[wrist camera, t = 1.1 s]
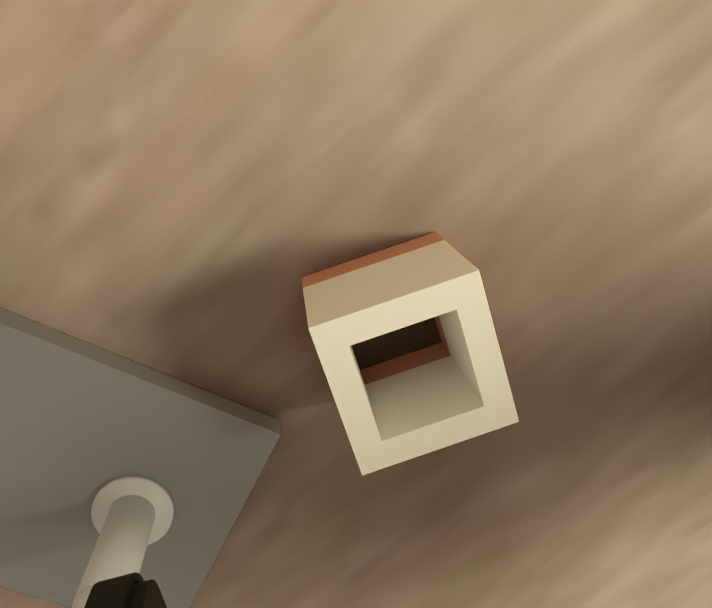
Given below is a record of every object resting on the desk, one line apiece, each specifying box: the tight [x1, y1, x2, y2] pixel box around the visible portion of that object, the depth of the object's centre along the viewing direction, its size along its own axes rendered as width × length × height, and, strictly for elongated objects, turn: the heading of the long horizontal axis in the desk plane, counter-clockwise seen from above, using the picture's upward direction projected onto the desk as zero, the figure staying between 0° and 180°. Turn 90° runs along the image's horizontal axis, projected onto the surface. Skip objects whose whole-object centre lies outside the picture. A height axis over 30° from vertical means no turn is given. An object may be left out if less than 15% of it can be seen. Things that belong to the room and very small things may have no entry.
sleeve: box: [301, 232, 519, 476], centre depth 24 cm, size 6×6×6 cm
